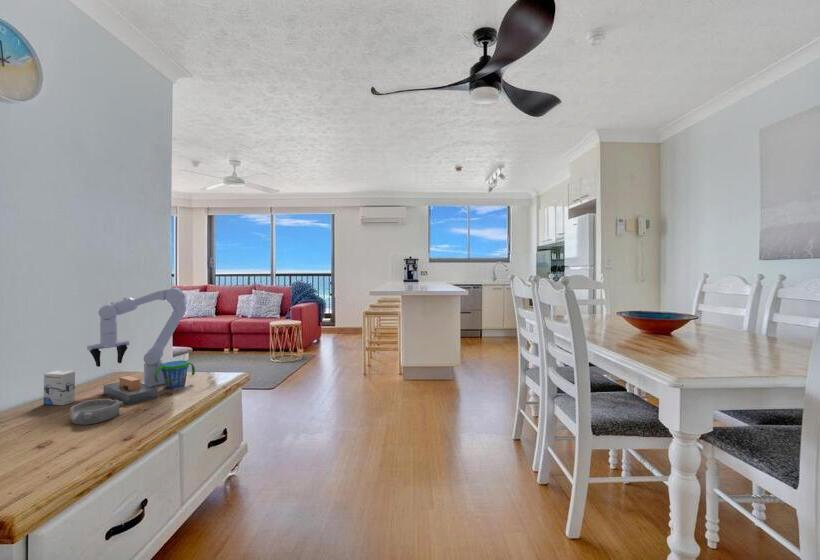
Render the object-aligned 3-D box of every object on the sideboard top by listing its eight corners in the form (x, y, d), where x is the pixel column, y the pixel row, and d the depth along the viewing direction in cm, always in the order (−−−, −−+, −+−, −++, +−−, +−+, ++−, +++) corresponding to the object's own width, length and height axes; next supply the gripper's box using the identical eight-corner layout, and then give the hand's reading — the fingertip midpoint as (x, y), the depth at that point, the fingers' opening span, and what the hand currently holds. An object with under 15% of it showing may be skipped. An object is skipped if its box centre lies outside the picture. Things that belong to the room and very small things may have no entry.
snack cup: (157, 392, 164) (156, 368, 164) (152, 386, 172) (151, 363, 172) (198, 385, 175) (198, 362, 175) (191, 380, 182) (191, 358, 182)
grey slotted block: (131, 387, 171) (131, 379, 171) (157, 397, 157) (157, 388, 157) (103, 393, 162) (103, 385, 162) (128, 404, 149) (128, 395, 149)
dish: (91, 428, 127) (91, 412, 127) (57, 424, 130) (57, 409, 130) (131, 412, 141) (131, 398, 141) (100, 409, 144) (99, 396, 144)
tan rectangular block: (127, 392, 164) (127, 375, 164) (140, 396, 159) (140, 379, 159) (119, 394, 161) (119, 377, 161) (131, 398, 156) (131, 380, 156)
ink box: (42, 404, 149) (42, 373, 148) (56, 400, 154) (55, 370, 153) (63, 405, 148) (63, 374, 148) (76, 401, 153) (75, 371, 153)
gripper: (124, 330, 177) (124, 360, 177) (84, 334, 165) (84, 366, 165) (131, 331, 173) (131, 362, 173) (90, 335, 161) (90, 368, 161)
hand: (109, 364), depth 169 cm, fingers open, 7 cm apart
